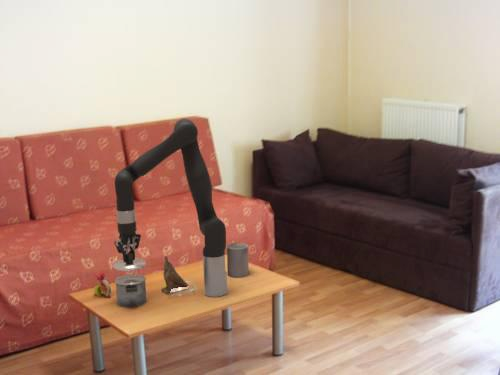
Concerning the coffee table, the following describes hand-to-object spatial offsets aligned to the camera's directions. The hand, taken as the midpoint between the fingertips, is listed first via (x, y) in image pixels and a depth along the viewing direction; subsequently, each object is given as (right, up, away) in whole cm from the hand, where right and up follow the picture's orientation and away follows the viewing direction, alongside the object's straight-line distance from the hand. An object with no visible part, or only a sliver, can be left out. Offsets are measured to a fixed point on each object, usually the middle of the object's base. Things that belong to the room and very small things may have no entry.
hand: (129, 261), depth 290 cm
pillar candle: (+44, -10, +34) cm, 56 cm away
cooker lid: (0, -2, 0) cm, 2 cm away
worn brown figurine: (+17, -14, +16) cm, 28 cm away
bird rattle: (-12, -16, +12) cm, 24 cm away
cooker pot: (+1, -17, +4) cm, 18 cm away
